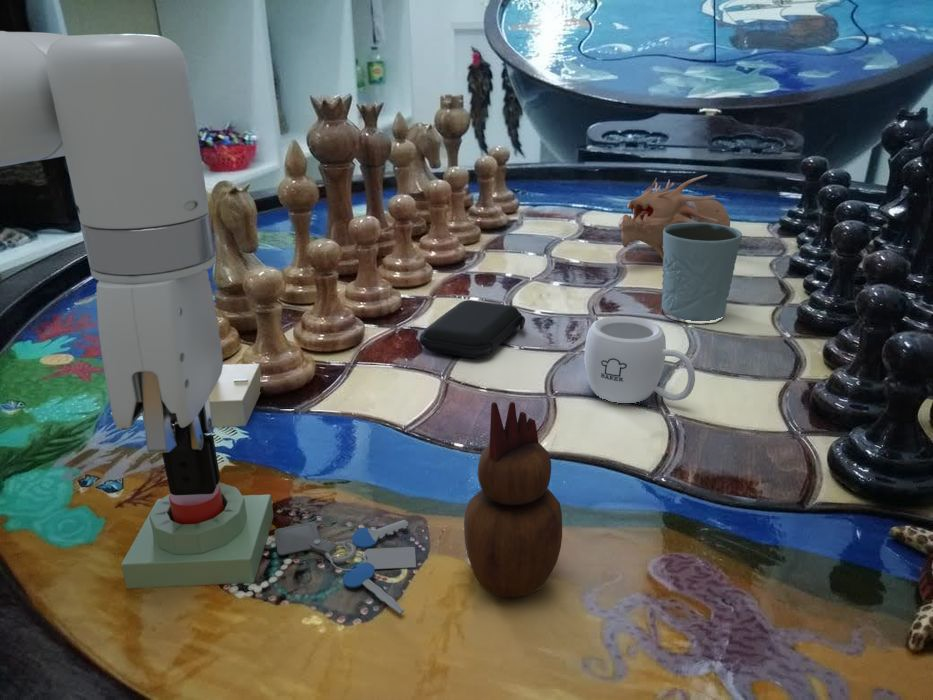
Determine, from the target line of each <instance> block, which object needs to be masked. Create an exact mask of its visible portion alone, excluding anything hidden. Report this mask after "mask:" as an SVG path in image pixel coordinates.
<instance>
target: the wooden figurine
mask: <svg viewBox="0 0 933 700" xmlns="http://www.w3.org/2000/svg"><path fill="white" fill-rule="evenodd" d="M489 427H490V429H489V443H488V445H487V446H486V447H485V448H484V449H483V450H482V452H481V454H480V456H479V459H478V465H477V479H478V484H479V486H480V488H481V489H480V490H479V491H478V492H477V493H476V494H475V495H473V496H472V497H471V499H469V500H468V503H467V506H466V507H465V509H464V517H463V518H464V520H463V529H464V530H463V532H464V534H463V536H464V546H465V550H466V554H467V559H468V561H469V565H470V568H471V570H472V572H473V575H474V577H475V579H476V581H477V583H478V584H479V586H481V587H482V588H483V589H484V590H486V591H487V592H488V593H489V594H492V595H495V596H498V597H503V598H520V597H524V596H526V595H527V596H528V595H530V594H532V593H535V592H536V591H537V590H540V588H543V586H544V585H545V584H546V582H547V580H548V579H549V577H550V576H551V574H553V572H554V569H555V567H556V565H557V562H558V560H559V556H560V552H561V548H562V540H563V512H562V508H561V502H559V500H558V499H557V497H556V496H555V495H554V494H553V492H552V491H551V490H550V489H549V486H550V481H551V475H552V458H551V456H550V452H549V451H548V450H547V449H546V447H544V446H543V445H542V444H541V443H540V442H539V437H538V429H537V424H536V420H535V419H533V418H531V417H529V418H527V413H526V412H524V411H520V412H519V415H518V417H517V409H516V403H515V402H514V401H510V402H509V405H508V409H507V415H506V420H505V425H504V424H503V420H502V416H501V413H500V410H499V405H498V403H497V402H495V401H493V402H491V405H490V424H489Z"/></svg>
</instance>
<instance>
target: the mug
mask: <svg viewBox="0 0 933 700" xmlns="http://www.w3.org/2000/svg"><path fill="white" fill-rule="evenodd" d="M666 341H667V340H666V335H665V333H664V330H663V328H662V327H661V326H660V325H659V324H657V323H655V322H653V321H650V320H647V319H645V318H641V317H636V316H627V315H616V316H615V315H614V316H609V317H603V318H599V319H597V320H595V321H593V322H592V323H591V325H590V327H589V329H588V330H587V333H586V338H585V345H584V369H585V374H586V378H587V382H588V384H589V387H590V389H591V390H592V392H593V393H594V394H595V396H597V397H598V396H599V397H598V398H600V399H601V398H602V399H601V400H603V399H606V400H608V401H612V402H617V403H616V404H618V403H635V404H637V403H636V402H639V403H641V402H640V401H642V402H644V401H646V400H647V399H648V398H649V397H650V396H652V394H653V393H654V392H655V393H656V394H658V395H659V396H660V397H662V398H664V399H666V400H670V401H682V400H684V399H686V398H688V397H689V396H690V394H692V391H693V389H694V387H695V382H696V372H695V368H694V366H693V364H692V361H691V359H690V358H689V357H688V356H687V355H686V353H683V352H681V351H680V350H677V349H667V344H666ZM666 357H675V358H677V359H679V360H680V361H682V363H683V364H684V366H685V368H686V371H687V382H686V385H685V387H684V389H683V390H682V391H681V392H679V393H672V392H671V393H670V392H668V391H667V390H665V389H663V388H662V387H661V386H658V385H659V382H660V380H661V377H662V375H663V371H664V367H665V362H666ZM606 400H605V401H606ZM643 400H644V401H643ZM608 401H607V402H608ZM612 402H611V403H612Z"/></svg>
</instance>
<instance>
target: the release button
mask: <svg viewBox="0 0 933 700" xmlns="http://www.w3.org/2000/svg"><path fill="white" fill-rule="evenodd" d="M169 494H170V495H169V501H170V506H171V511H172V516H173V519H174V521H175V522H176V523H179V524H198V523H201V522H204V521H207V520H210V519H213V518H214V517H216V516H217V515H219V514H220V513H221V512H222V511H223V500H222V494H221V488H220V485H219V484H217V486H216V489H215V491H214V493H212V494H197V495H173V494H171V493H170V492H169Z"/></svg>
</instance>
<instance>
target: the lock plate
mask: <svg viewBox="0 0 933 700" xmlns="http://www.w3.org/2000/svg"><path fill="white" fill-rule="evenodd" d="M261 376H262V369H261V364H260V363H235V364H234V363H233V364H223V367H222V372H221V375H220V377H219V379H218V381H217V383H216V385H215V387H214V389H213V390H212V392H211V394H210V396H209V400H210V409H211V418H212V428H235V427H236V428H239V427H240V428H241V427H247V425H248V422H249V420H250V418H251V415H252V414H253V412H254V409H255V407H256V405H257V402H258V400H259V397H260V396H261V393H262V391H261V392H260V377H261ZM141 416H142V421H143V426H144V427H145V420H144V410H143V412H142V413H141Z"/></svg>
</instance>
